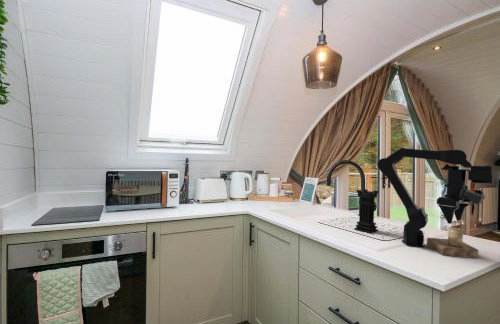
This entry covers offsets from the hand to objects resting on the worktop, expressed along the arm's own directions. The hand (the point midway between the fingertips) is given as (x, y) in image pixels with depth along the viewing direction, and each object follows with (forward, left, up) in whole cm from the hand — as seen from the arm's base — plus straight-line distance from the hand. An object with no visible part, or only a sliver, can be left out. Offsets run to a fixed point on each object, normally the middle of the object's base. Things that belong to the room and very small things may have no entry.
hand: (454, 222), depth 104 cm
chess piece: (-26, +25, -12) cm, 38 cm away
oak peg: (0, -1, -12) cm, 12 cm away
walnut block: (0, +2, -12) cm, 12 cm away
